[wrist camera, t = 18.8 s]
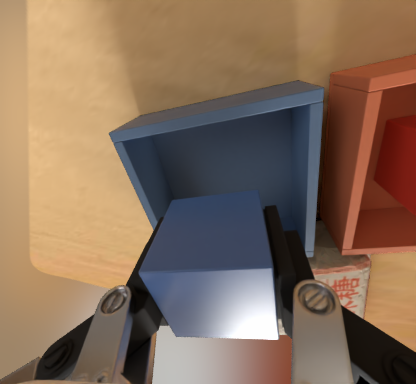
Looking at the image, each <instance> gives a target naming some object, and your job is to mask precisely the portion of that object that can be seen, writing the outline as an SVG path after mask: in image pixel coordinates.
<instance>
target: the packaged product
mask: <svg viewBox="0 0 416 384" xmlns="http://www.w3.org/2000/svg"><path fill="white" fill-rule="evenodd" d="M307 258H308V261H309V264H310V266H311V269H312V272H313V275H314V277H315V280H318V281H322V282H323V283H325V284H327V285H329V286H330V287H331V288H332V289H333V290H334V291H335V292H336V294H337V295H338V297H339V300H340V303H341V305H342V306H344V307H345V308H347V309H348V310H350V311H352V312H353V313H355V314H356V315H358V316H359V317H361V318H362V319H364V315H365V306H366V300H367V292H368V283H369V278H370V275H369V274H370V269H371V260H370V254H360V255H341V254H340V252H339V250H338V248H337V246H336V244H335V243H334V241H333V239H332V237H331V235H330V234H329V232H328V230H327V228H326V226H325V224H324V222H323V221H316V225H315V240H314V254H313V257H307ZM278 328H279V335H287V334H286V333H285V331H284V327H282V322H281V319H278Z"/></svg>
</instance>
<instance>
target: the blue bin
mask: <svg viewBox="0 0 416 384" xmlns="http://www.w3.org/2000/svg"><path fill="white" fill-rule="evenodd" d="M323 100H324V88H323V87H320V86H316V85H313V84H309V83H306V82H302V81H299V80H298V81H293V82H289V83H284V84H280V85H275V86H271V87H266V88H262V89H257V90H253V91H248V92H244V93H239V94H235V95H231V96H226V97H222V98H217V99H213V100H208V101H204V102H199V103H195V104H190V105H186V106H181V107H177V108H172V109H168V110H163V111H159V112H154V113H150V114H145V115H141V116H139V117H137V118H135V119H133V120H131V121H130V122H128V123H126V124H124V125H122V126H120V127H119V128H117V129H115V130H113V131H111V132H110V133H109V135H110V137H111V140H112V142H113V143H114V146H115V148H116V150H117V153H118V155H119V157H120V159H121V161H122V163H123V165H124V168H125V170H126V172H127V174H128V176H129V178H130V180H131V183H132V185H133V187H134V189H135V191H136V193H137V195H138V198H139V200H140V202H141V204H142V206H143V208H144V210H145V213H146V215H147V217H148V219H149V221H150V223H151V225H152V228H153V230H154V229H155V227H156V225H157V223H158V221H159V219H160V218H161V217H165V215H166V212H167V210H168V208H169V206H170V204H171V202H172V200H178V199H186V198H195V197H203V196H211V195H219V194H227V193H235V192H243V191H251V190H259V192H260V197H261V203H262V208H263V209H265V206H271V205H276V206H277V210H278V213H279V217H280V220H281V224H282V227H283V231H288V230H297V232H298V234H299V237H300V239H301V242H302V245H303V248H304V250H305V253H306V256H307V257H313V254H314V240H315V225H316V209H317V194H318V179H319V163H320V148H321V133H322V117H323Z"/></svg>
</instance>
